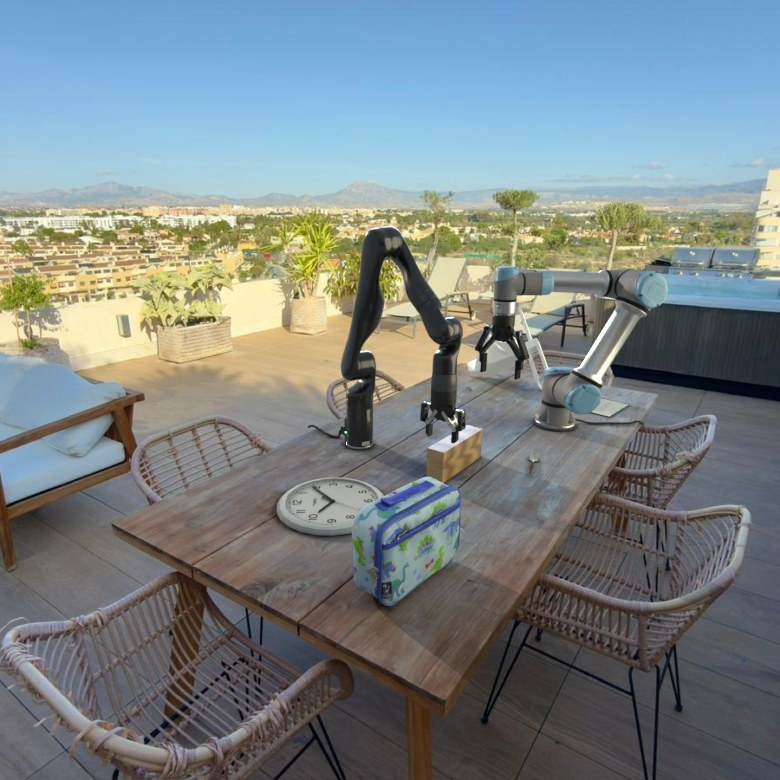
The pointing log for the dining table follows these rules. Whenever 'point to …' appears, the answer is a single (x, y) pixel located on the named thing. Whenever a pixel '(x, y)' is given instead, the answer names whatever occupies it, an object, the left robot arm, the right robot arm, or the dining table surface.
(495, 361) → the white plastic object
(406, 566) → the lunch box
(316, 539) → the dining table surface
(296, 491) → the wall clock
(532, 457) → the fork
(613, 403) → the invitation card
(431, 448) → the box
